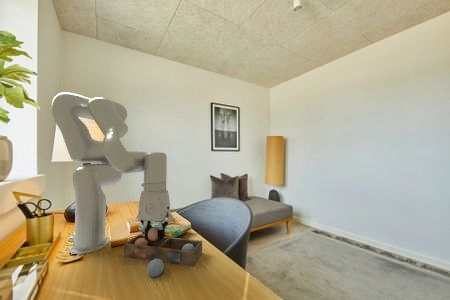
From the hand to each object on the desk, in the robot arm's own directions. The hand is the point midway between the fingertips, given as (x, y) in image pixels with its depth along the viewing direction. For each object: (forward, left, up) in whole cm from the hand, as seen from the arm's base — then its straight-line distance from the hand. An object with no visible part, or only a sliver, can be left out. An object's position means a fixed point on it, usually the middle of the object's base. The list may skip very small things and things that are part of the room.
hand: (154, 238), depth 64 cm
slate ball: (+7, -9, -6) cm, 13 cm away
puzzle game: (-5, +16, -6) cm, 18 cm away
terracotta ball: (0, 0, -1) cm, 1 cm away
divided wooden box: (+4, 0, -6) cm, 7 cm away
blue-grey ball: (+13, 0, -5) cm, 14 cm away
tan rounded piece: (-6, 0, -5) cm, 8 cm away
